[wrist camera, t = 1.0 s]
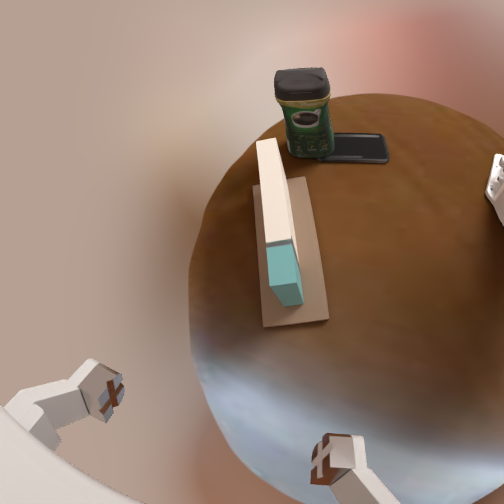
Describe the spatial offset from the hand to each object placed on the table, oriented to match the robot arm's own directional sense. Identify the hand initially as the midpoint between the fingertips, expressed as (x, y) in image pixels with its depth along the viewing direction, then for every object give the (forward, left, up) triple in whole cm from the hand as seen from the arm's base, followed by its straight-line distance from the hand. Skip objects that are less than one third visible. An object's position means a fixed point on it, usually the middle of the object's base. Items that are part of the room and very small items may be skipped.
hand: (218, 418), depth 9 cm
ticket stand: (-18, -11, -32) cm, 38 cm away
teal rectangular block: (-11, -7, -31) cm, 33 cm away
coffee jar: (-40, -17, -32) cm, 54 cm away
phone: (-43, -9, -32) cm, 54 cm away
